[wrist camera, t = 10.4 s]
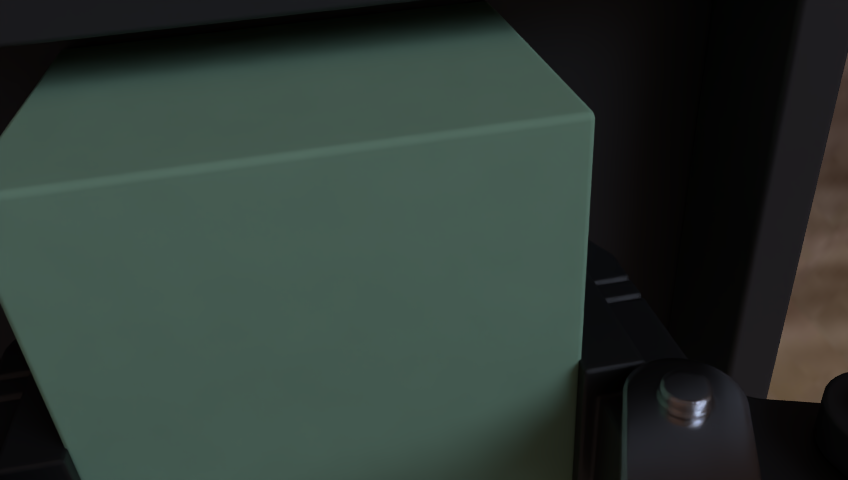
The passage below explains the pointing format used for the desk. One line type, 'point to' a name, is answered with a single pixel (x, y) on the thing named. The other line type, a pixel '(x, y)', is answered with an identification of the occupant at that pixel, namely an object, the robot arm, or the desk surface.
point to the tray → (606, 132)
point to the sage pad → (304, 251)
